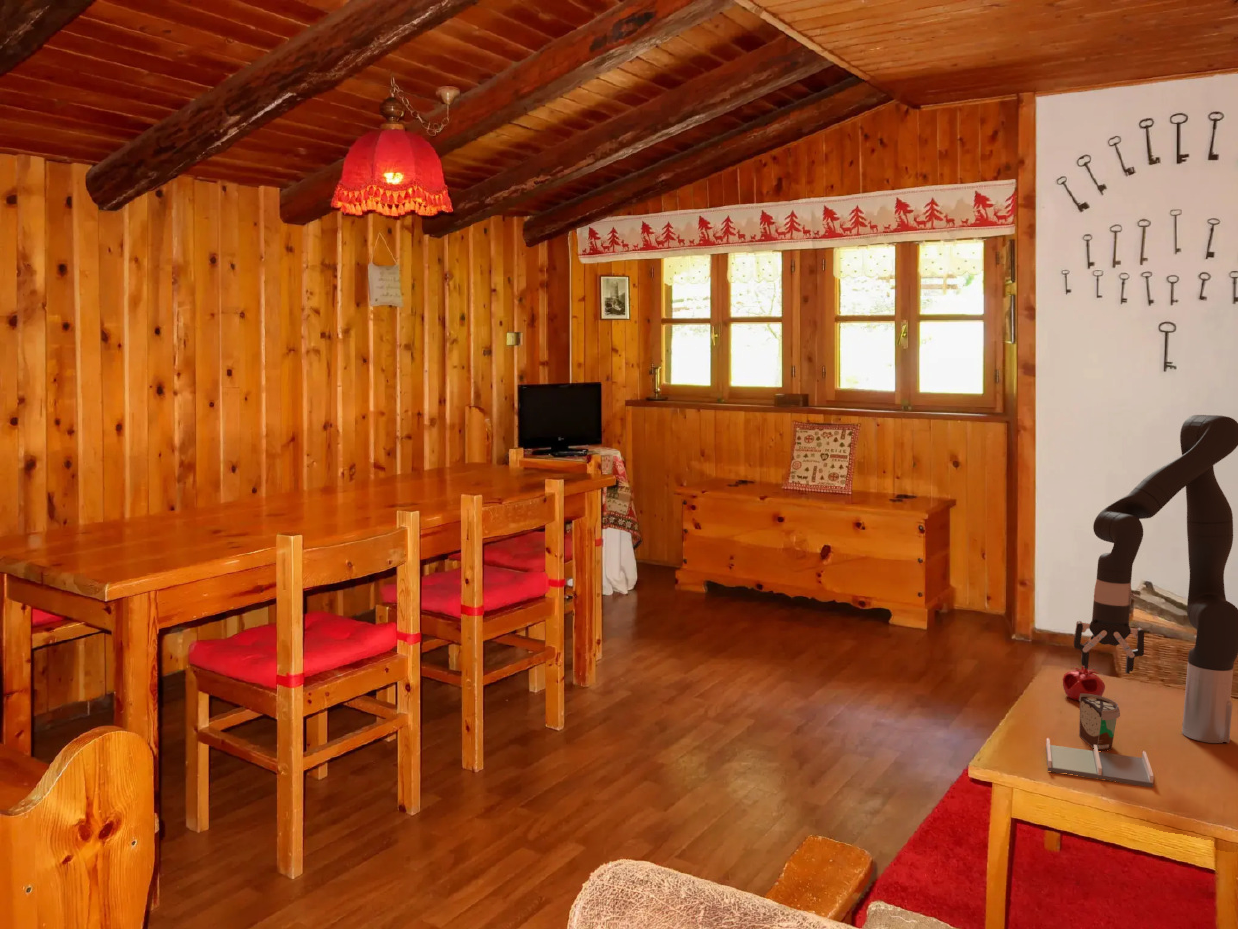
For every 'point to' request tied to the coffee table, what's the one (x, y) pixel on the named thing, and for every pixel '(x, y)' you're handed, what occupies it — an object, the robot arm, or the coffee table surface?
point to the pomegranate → (1082, 683)
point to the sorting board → (1100, 765)
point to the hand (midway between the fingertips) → (1106, 670)
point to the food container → (1098, 720)
